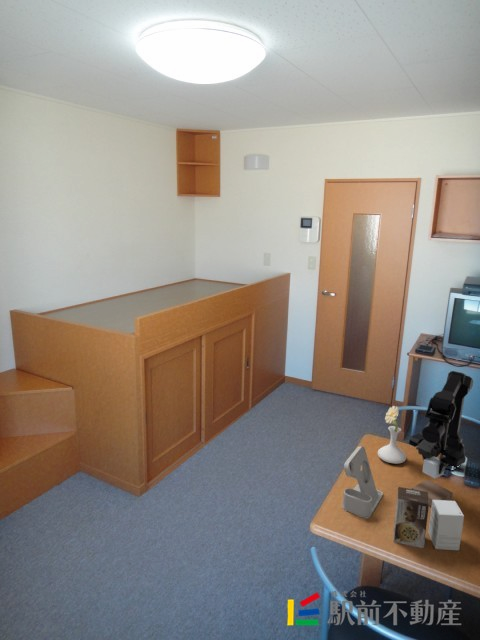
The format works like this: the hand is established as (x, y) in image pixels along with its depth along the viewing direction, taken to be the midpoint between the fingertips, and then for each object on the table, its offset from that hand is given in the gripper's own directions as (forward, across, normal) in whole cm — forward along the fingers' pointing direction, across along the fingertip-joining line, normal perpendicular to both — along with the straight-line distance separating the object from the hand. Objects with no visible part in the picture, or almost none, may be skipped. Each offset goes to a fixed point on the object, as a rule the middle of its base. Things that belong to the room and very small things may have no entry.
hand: (433, 470), depth 161 cm
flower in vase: (+11, -24, +9) cm, 28 cm away
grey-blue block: (+1, 0, 0) cm, 1 cm away
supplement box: (+11, +16, -17) cm, 25 cm away
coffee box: (+11, +9, -25) cm, 29 cm away
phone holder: (+11, -12, -22) cm, 28 cm away
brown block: (+11, 0, 0) cm, 11 cm away
